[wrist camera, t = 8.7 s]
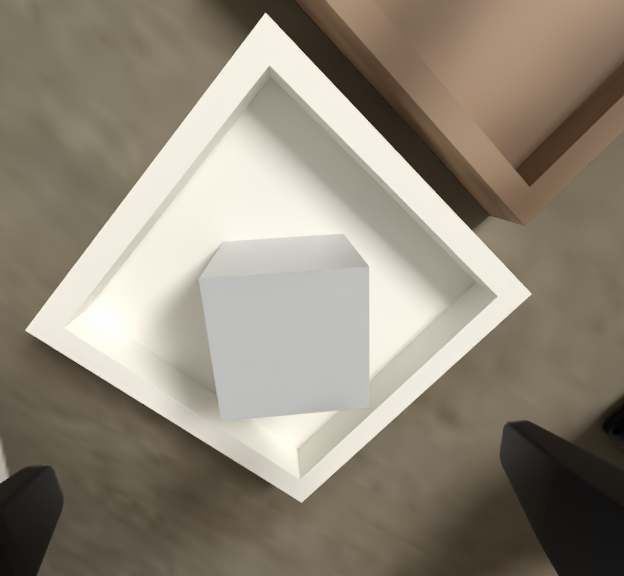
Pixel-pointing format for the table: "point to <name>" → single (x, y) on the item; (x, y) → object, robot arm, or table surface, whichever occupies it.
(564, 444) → the robot arm
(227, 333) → the stone block
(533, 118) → the walnut tray
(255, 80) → the cream tray
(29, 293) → the table surface
